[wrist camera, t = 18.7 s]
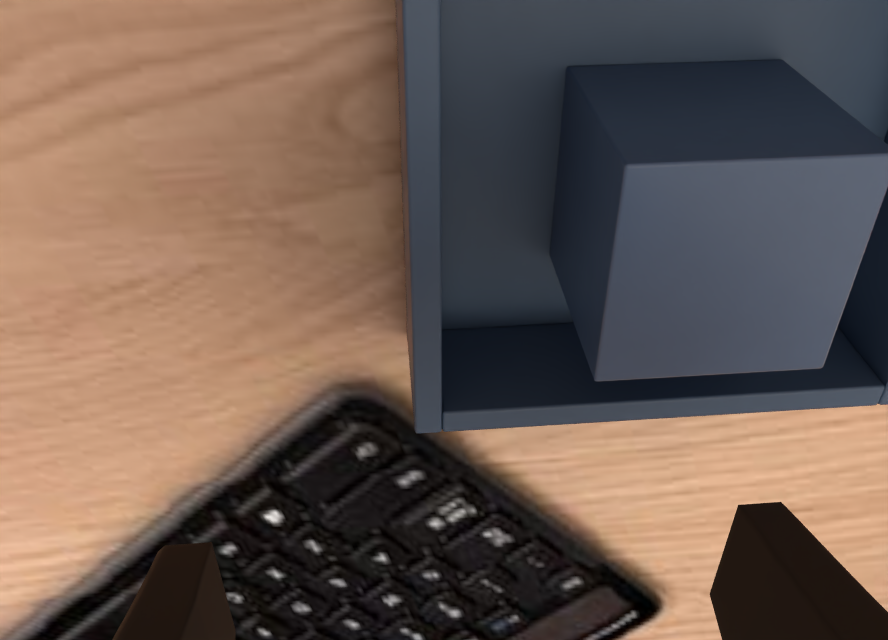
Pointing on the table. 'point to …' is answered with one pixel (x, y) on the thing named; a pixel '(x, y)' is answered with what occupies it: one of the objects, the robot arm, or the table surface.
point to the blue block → (709, 216)
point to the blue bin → (533, 195)
